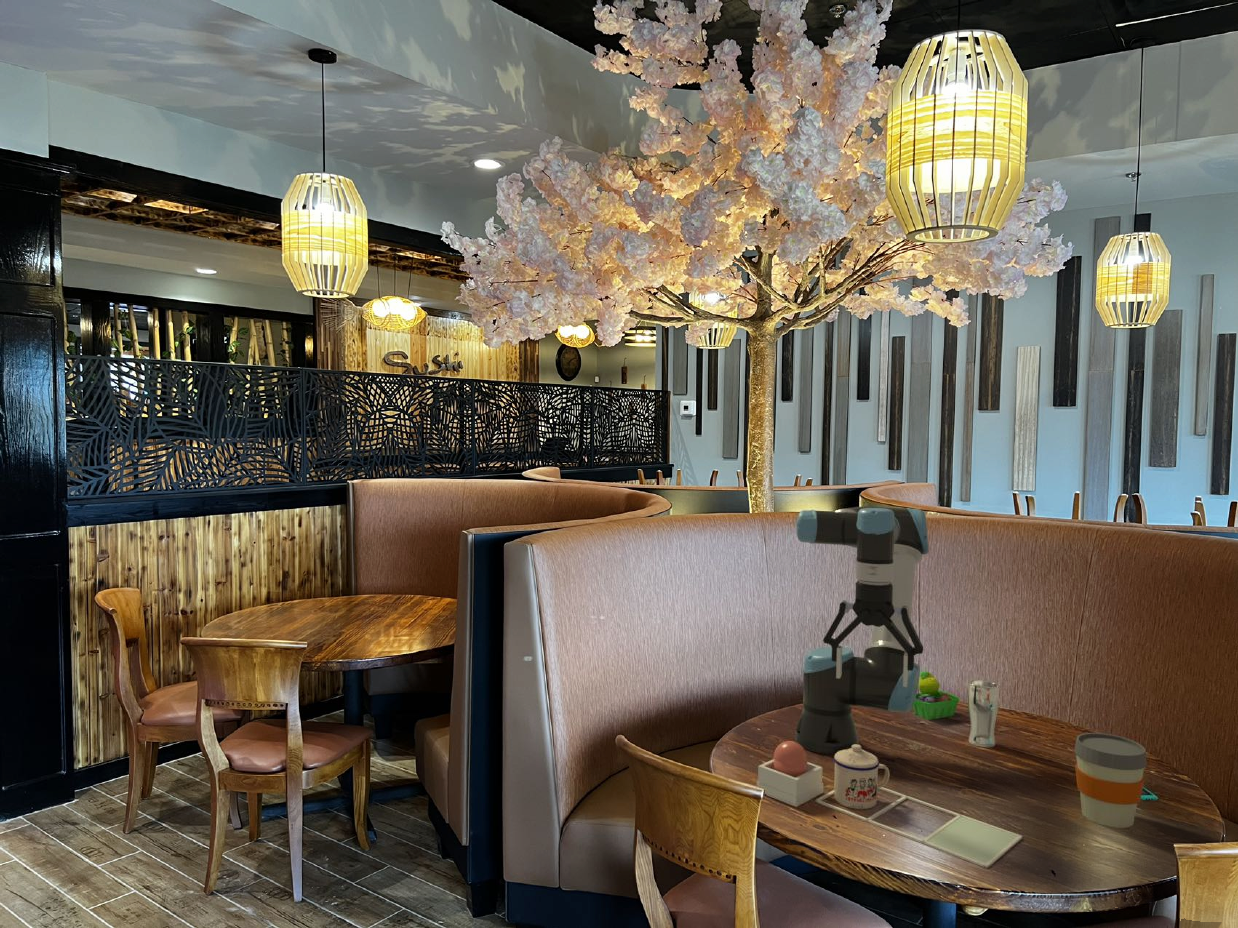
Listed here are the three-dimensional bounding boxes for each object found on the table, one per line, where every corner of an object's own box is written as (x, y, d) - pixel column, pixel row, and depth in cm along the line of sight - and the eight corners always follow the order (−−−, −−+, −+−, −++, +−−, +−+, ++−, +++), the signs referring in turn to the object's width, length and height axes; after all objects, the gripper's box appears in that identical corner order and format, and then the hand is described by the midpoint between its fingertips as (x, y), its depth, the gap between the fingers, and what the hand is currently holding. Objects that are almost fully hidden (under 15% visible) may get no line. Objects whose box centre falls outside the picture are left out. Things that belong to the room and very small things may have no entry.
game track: (814, 801, 173) (815, 799, 173) (855, 779, 185) (856, 777, 185) (987, 868, 148) (987, 866, 148) (1022, 837, 159) (1022, 835, 159)
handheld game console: (1115, 771, 192) (1115, 765, 192) (1159, 803, 176) (1160, 796, 176) (1071, 770, 192) (1072, 765, 192) (1112, 802, 176) (1112, 795, 176)
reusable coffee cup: (1114, 801, 175) (1116, 731, 174) (1159, 830, 163) (1162, 754, 162) (1058, 804, 174) (1061, 733, 173) (1100, 833, 161) (1103, 757, 161)
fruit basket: (927, 722, 222) (928, 680, 221) (904, 711, 230) (905, 671, 229) (960, 717, 226) (962, 676, 225) (937, 707, 234) (938, 667, 234)
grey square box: (756, 791, 178) (757, 765, 178) (783, 777, 185) (784, 753, 185) (796, 806, 171) (796, 780, 171) (823, 792, 178) (823, 767, 178)
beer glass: (999, 741, 208) (1001, 682, 208) (994, 750, 202) (996, 689, 202) (969, 735, 212) (971, 677, 211) (964, 744, 206) (966, 684, 205)
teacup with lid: (844, 812, 169) (846, 755, 168) (825, 792, 178) (826, 738, 177) (899, 807, 171) (900, 751, 171) (877, 788, 180) (879, 735, 180)
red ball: (766, 773, 178) (767, 741, 178) (786, 764, 183) (786, 733, 182) (794, 784, 173) (795, 751, 173) (813, 774, 178) (814, 742, 177)
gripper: (811, 579, 178) (809, 678, 179) (936, 589, 168) (933, 693, 169) (817, 574, 185) (815, 668, 186) (938, 583, 175) (935, 683, 176)
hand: (871, 680), depth 177 cm, fingers open, 13 cm apart
